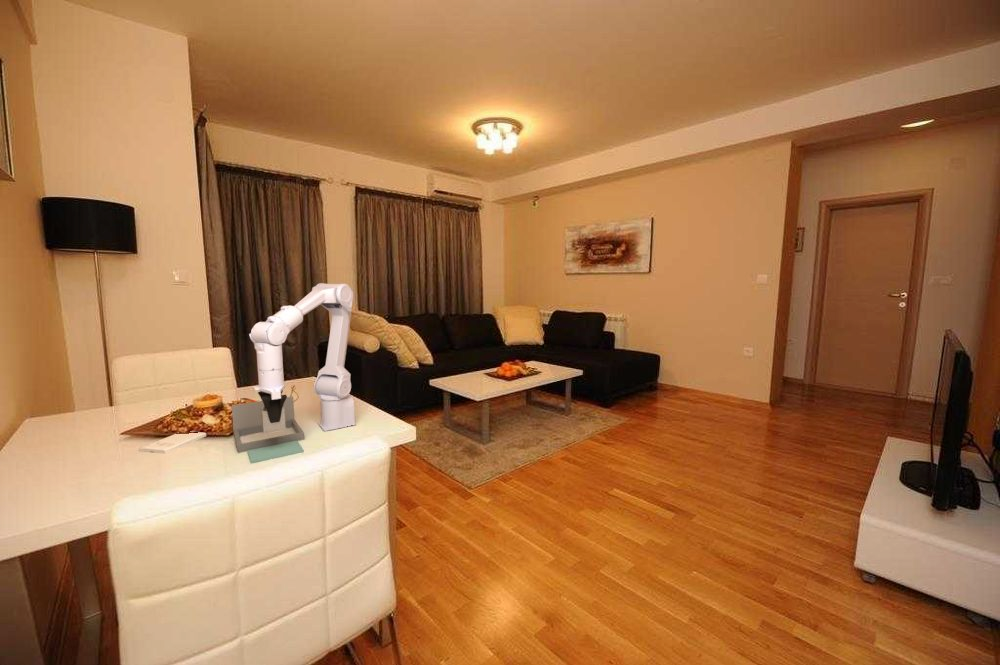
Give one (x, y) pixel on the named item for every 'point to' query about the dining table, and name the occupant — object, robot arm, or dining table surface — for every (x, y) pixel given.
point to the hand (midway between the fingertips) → (273, 419)
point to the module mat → (274, 451)
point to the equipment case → (250, 423)
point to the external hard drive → (172, 442)
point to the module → (271, 427)
